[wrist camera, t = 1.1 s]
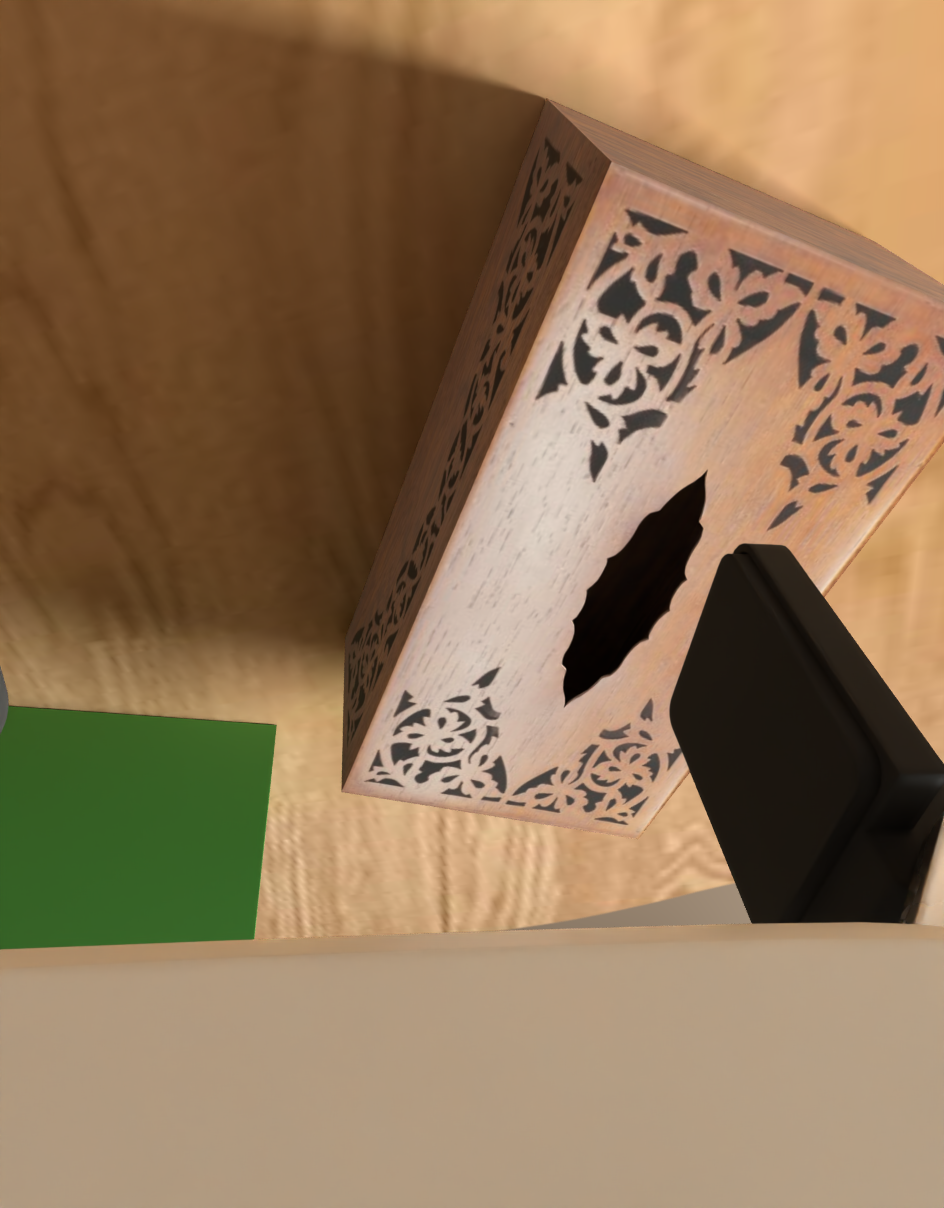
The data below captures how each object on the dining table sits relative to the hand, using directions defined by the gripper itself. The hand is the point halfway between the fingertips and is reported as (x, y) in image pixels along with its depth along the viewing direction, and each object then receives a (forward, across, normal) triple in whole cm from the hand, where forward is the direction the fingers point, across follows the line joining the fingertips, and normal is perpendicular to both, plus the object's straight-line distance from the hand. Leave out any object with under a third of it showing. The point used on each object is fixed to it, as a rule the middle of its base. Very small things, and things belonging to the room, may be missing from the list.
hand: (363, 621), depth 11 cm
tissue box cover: (+26, -10, +11) cm, 30 cm away
